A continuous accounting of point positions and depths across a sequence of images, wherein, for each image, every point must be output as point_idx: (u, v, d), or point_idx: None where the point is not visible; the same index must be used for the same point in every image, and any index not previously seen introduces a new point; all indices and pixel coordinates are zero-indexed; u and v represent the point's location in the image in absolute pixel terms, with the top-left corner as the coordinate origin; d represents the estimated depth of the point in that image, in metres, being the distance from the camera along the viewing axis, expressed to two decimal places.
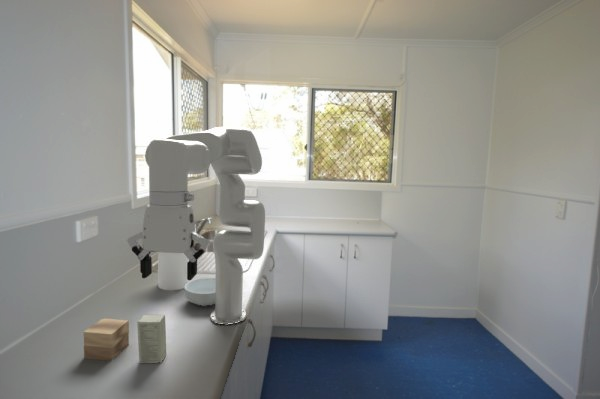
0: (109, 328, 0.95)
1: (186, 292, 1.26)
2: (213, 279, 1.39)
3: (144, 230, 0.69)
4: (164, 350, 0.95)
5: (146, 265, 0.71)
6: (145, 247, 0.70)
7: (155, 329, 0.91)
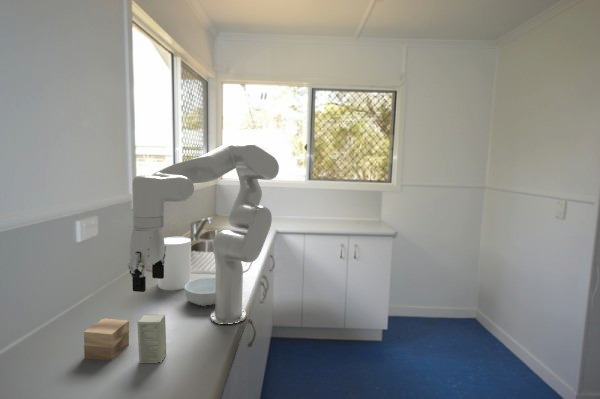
0: (110, 328, 0.95)
1: (186, 292, 1.26)
2: (213, 279, 1.39)
3: (147, 250, 0.85)
4: (164, 350, 0.95)
5: None
6: (148, 264, 0.86)
7: (155, 329, 0.91)
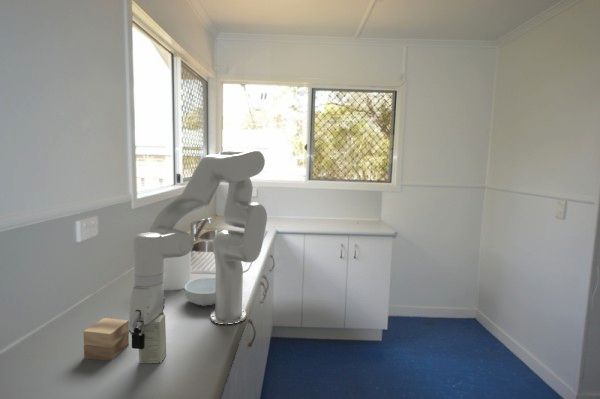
0: (109, 328, 0.95)
1: (186, 292, 1.26)
2: (213, 279, 1.39)
3: (147, 308, 0.87)
4: (164, 350, 0.95)
5: None
6: (147, 322, 0.87)
7: (155, 329, 0.91)
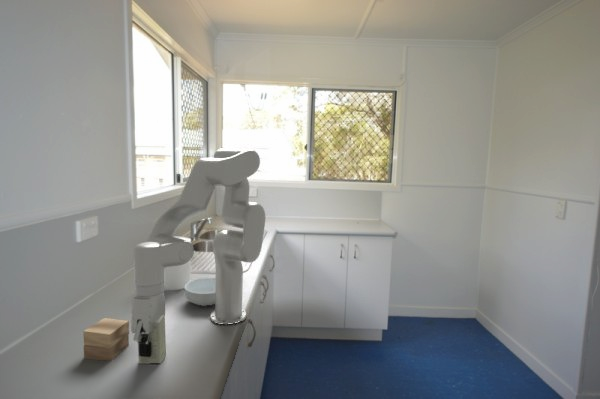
0: (109, 328, 0.95)
1: (186, 292, 1.26)
2: (213, 279, 1.39)
3: (149, 318, 0.88)
4: (164, 350, 0.94)
5: None
6: (149, 331, 0.88)
7: (154, 330, 0.90)
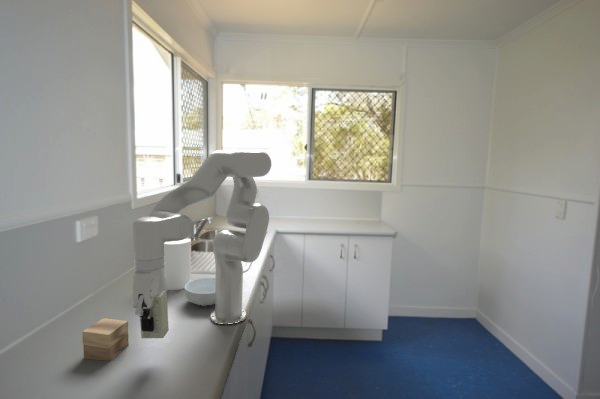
0: (108, 328, 0.94)
1: (186, 292, 1.26)
2: (213, 279, 1.39)
3: (150, 292, 0.87)
4: (166, 326, 0.94)
5: None
6: (151, 305, 0.88)
7: (156, 304, 0.90)
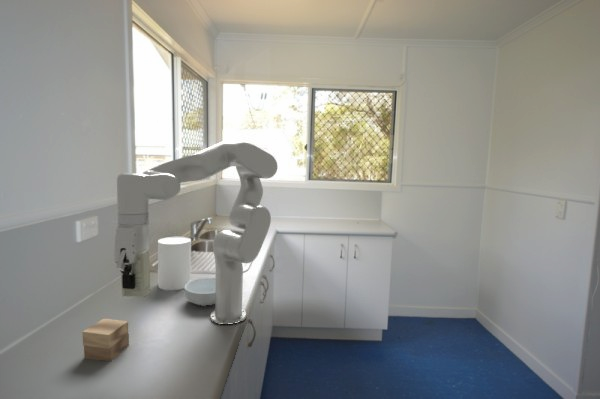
0: (108, 328, 0.94)
1: (186, 292, 1.26)
2: (213, 279, 1.39)
3: (132, 247, 0.86)
4: (148, 285, 0.93)
5: None
6: (133, 260, 0.87)
7: (138, 261, 0.89)
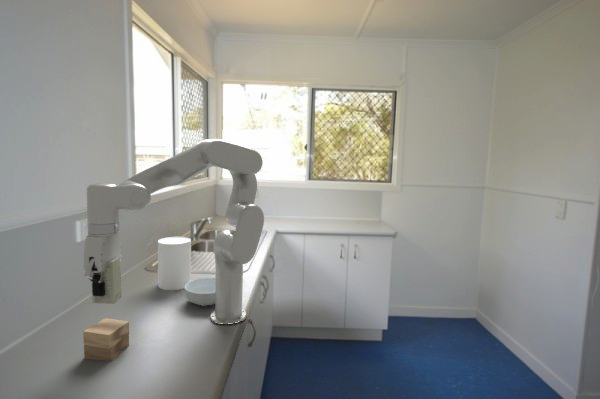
0: (108, 328, 0.94)
1: (186, 292, 1.26)
2: (213, 279, 1.39)
3: (101, 256, 0.89)
4: (119, 292, 0.95)
5: None
6: (101, 269, 0.89)
7: (108, 269, 0.92)
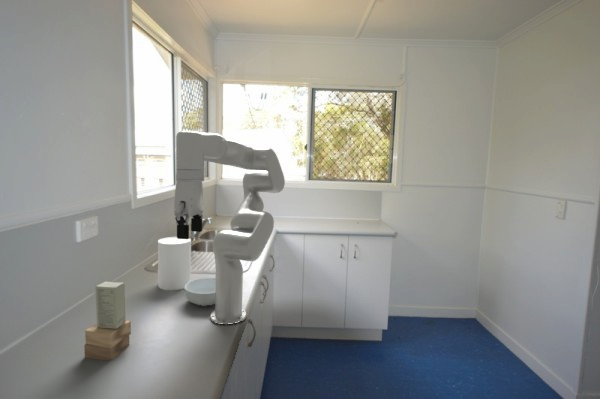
0: (110, 328, 0.95)
1: (186, 292, 1.26)
2: (213, 279, 1.39)
3: (191, 200, 0.91)
4: (122, 317, 0.97)
5: None
6: (191, 213, 0.92)
7: (111, 294, 0.93)
